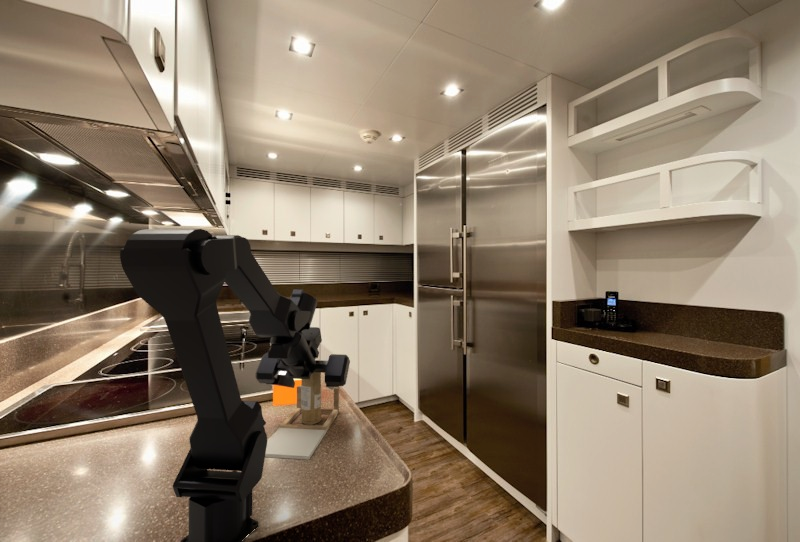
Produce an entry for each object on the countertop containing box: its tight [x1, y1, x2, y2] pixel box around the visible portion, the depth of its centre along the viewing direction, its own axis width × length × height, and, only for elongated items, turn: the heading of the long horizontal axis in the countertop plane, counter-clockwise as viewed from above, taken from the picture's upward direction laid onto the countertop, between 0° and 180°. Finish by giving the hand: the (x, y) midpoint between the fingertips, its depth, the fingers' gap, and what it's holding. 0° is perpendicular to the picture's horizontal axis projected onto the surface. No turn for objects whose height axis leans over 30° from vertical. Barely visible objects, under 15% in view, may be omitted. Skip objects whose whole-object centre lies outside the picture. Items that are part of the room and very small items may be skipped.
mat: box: [265, 428, 328, 460], centre depth 63 cm, size 10×10×1 cm
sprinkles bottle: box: [300, 358, 322, 425], centre depth 73 cm, size 5×5×14 cm
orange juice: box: [272, 379, 302, 407], centre depth 86 cm, size 8×9×20 cm
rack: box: [278, 386, 340, 431], centre depth 73 cm, size 10×10×6 cm
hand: (313, 386), depth 74 cm, fingers open, 9 cm apart
